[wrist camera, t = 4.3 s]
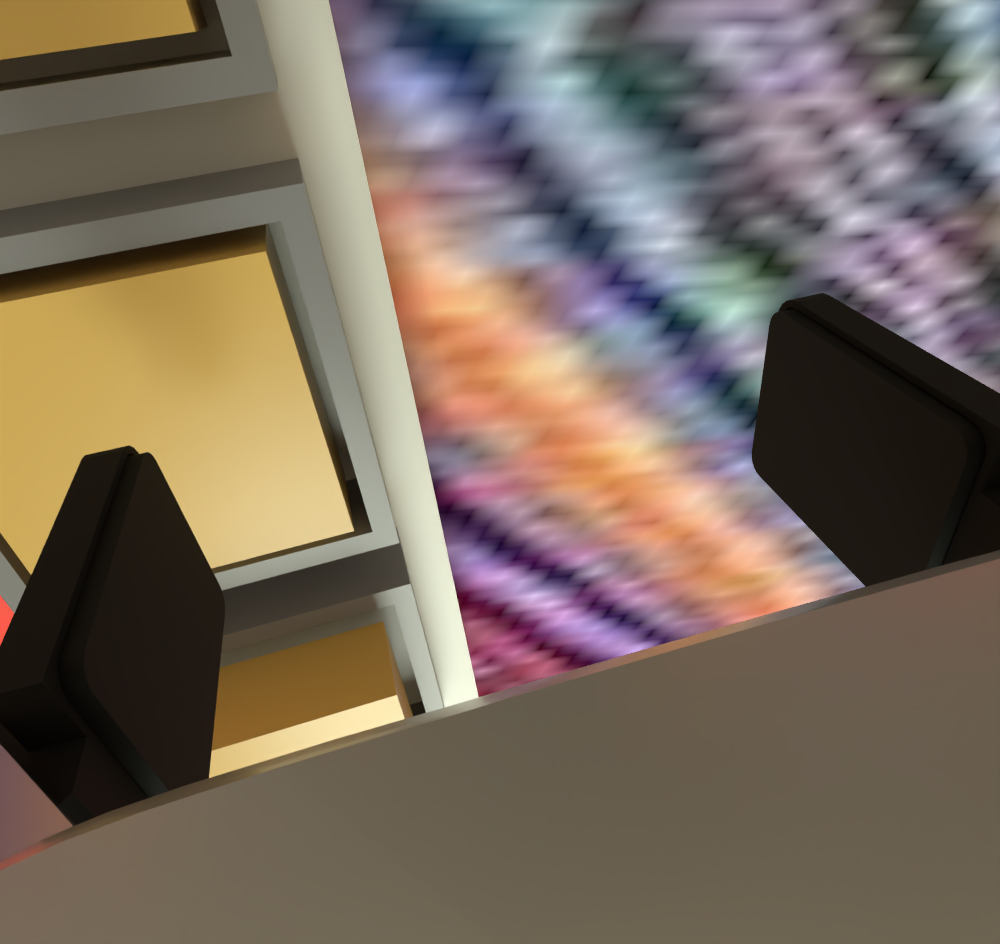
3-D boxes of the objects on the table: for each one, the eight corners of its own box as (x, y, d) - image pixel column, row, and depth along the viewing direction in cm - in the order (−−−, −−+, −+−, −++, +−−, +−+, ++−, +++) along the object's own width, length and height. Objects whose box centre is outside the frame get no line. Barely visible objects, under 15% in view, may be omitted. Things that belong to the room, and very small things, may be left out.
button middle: (266, 216, 13) (265, 250, 11) (344, 474, 16) (354, 530, 15) (-84, 282, 12) (-146, 331, 10) (80, 540, 15) (55, 609, 14)
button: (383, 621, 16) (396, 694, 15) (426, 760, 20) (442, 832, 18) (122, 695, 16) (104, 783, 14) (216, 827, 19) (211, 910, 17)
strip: (161, -707, 9) (72, -1289, 5) (485, 753, 30) (520, 874, 26) (-762, -723, 8) (-1964, -1567, 4) (252, 828, 28) (249, 969, 24)
